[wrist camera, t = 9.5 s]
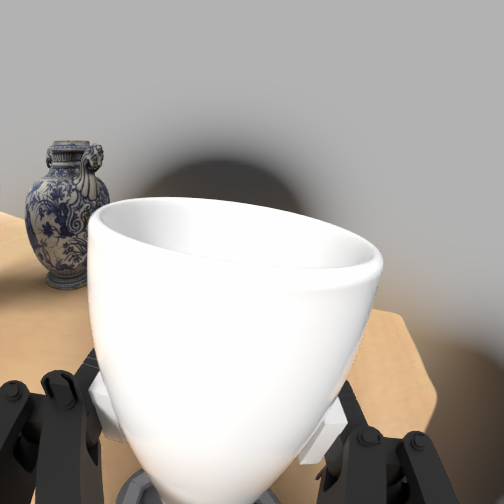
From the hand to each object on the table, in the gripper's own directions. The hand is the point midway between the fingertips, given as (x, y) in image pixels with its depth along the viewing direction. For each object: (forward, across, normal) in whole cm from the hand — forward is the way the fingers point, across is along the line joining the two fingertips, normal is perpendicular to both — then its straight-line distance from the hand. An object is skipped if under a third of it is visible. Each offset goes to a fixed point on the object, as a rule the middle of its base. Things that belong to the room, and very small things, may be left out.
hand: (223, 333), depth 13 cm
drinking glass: (-5, 0, -9) cm, 10 cm away
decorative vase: (+34, -34, -18) cm, 51 cm away
